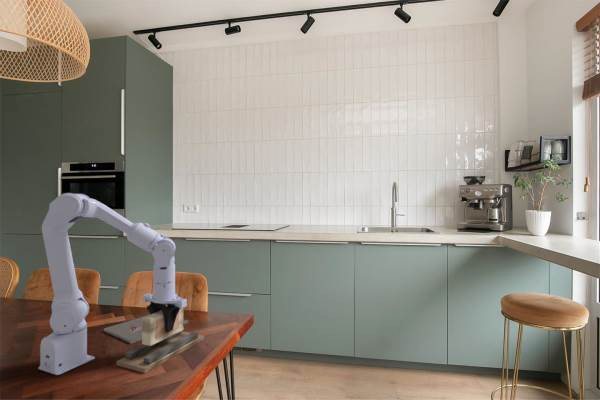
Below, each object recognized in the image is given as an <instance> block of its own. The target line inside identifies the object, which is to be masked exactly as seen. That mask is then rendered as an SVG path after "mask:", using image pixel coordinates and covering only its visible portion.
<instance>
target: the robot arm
mask: <svg viewBox="0 0 600 400" xmlns="http://www.w3.org/2000/svg"><path fill="white" fill-rule="evenodd" d="M48 205H49V207H48V208H49V209H48V211H47V213H46V216H45V218H44V220H43V223H42V224H41V232H42V233H41V234H42V239H43V242H44V249H45V254H46V258H47V259H46V260H47V264H48V268H49V274H50V280H51V285H52V290H53V295H54V296H53V300H52V303H51V315H50V318H49V325H50V328H51V330H53V332H51V333H50V334H49V335H47V336H45V337H43V338H42V339H41V340H40V341H41V342H40V346H39V349H40V351H39V353H40V354H39V355H40V356H39V361H40V362H39V364H40V365H39V366H38V368H37V369H38V370H40V371H44V372H46V373H50V374H52V375H55V376H58V375H59V376H60V375H61V374H65V373H67V372H68V371H70V370H72V369H73V370H74V369H75V368H78V367H80V366H82V365H84V364H86V363H89V362H91V361H93V360H95V359H96V357H95V356H93V355H89V354H88V353H87V352H88V324H87V323H88V322H86V319H85V318H86V317H87V316H88V314H89V313H90V306H89V303H88V302H87V301H86V299H85V298H84V295H83V292H82V291H81V290H80V289H79V286H78V285H79V284H78V280H77V275H76V269H75V264H74V259H73V254H72V248H71V244H70V238H69V234H68V233H69V232H68V231H69V230H70V228H72V226H73V225H74V224H75V223H76V222H77V221H79V220H80V219H82V218H93V219H98V220H101V221H103V222H105V224H106V223H107V224H108V225H110V226H112V227H113V228H115V229H117V230H119V231H121V232H123V233H125V235H126V239H127V241H128V242H130V243H132V244H134V245H135V246H137V247H139V248H141V249H142V250H144V251H146V252H147V253H151V255H152V257H153V267H152V268H153V270H152V274H153V276H152V278H153V279H152V284H153V285H152V293H145V294H143V295H142V302H143V303H150V304H149V305H146V310H147V311H148V313H149V315H150V314H153V313H156V312H158V311H162V313H163V316H164V322H165V331H166V332H170V331H172V330H173V327H174V323H175V319H176V317H177V314H178V312H179V310H180V309H181V308H183V309H184V308H186V307H188V306H187V305H188V303H187V302H188V301H187V300H188V299H187V298H183V297H180V296H178V294H177V293H176V264H175V261H176V258H175V254H176V243H175V242H174V241H173V240H172V239H171V238H170V237H169V236H168V237H167V236H165V234H164V233H158V232H157V231H155V230H154V229H153V228H151V227H150V226H151V225H150V224H149V223H147V222H145V223H142V222H136V223H133V222H131V221H130V220H128V218H125V217H124V216H123V215H121V214H119V213H118V212H117V211H115V210H114V209H112V208H110V207H108V205H106V204H104V203H102V202H101V201H98V200H97V199H94V198H90V196H88V195H86V194H84V193H74V192H73V193H72V192H66V193H65V192H63V193H62V194H59V195H58V196H56V198H55V199H53V200H52V201H51V202H50V203H49V204H48Z"/></svg>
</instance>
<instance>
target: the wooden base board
mask: <svg viewBox="0 0 600 400" xmlns="http://www.w3.org/2000/svg"><path fill="white" fill-rule="evenodd" d="M205 339H206V338H205V335H202V334H199V332H195V331H192V332H187V331H184V330H182V331H180V332H178V333H176V334H174V335H172V336H170V337H168V338H166V339H164V340H162V341H160V342H158V343H156V344H153V345H151V346H149V345H144V344H141V345H139V346H137V347H135V348H132V349H130V350H128V351H126V352H125V353H124V355H125V356H124V357H123V358H121V359H120V358H119V360H116V366H118V367H122V368H124V369H129V370H132V371H136V372H138V373H139V372H140V373H142V374H146V373H147V372H150V371H151V370H153V369H155V368H156V367H158V366H161V365H162V364H163V363H165V362H167V361H169V360H171V359H172V358H174V357H176V356H178V355H179V354H181V353H183V352H185V351H186V350H188V349H190V348H192V347H193V346H195V345H197V344H199V343H201V342H203V341H204V340H205Z"/></svg>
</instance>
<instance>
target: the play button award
mask: <svg viewBox="0 0 600 400" xmlns="http://www.w3.org/2000/svg"><path fill="white" fill-rule="evenodd" d="M148 315H149V314H148ZM148 315H144V316H141V317H138V318H134V319H132V320H129V321H124V322H121V323H118V324H114V325H110V326H108V327H105V328H104V327H103V332H104V333H106V334H109V335H110V334H111V336H113V337H114V338H116V339H117V338H118V339H119V338H120V339H119V340H121V339H122V340H121V341H123V342H124V341H125V342H126V343H128V344H134V343H136V342H139V341H142V318H143V317H145V316H148ZM186 323H187V324H188V323H189V320H187V319H184V318H183V324H185V325H187V324H186ZM131 327H137V328H136V330H135V329H134V331H132V330H131ZM131 331H132V332H131Z"/></svg>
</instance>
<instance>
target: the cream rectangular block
mask: <svg viewBox="0 0 600 400" xmlns="http://www.w3.org/2000/svg"><path fill="white" fill-rule="evenodd" d="M144 316H145V317H144ZM144 316H142V317H143V318H142V340H141V345H143V344H144V345H149V346H151V345H153V344H156V343H158V342H160V341H162V340H164V339H166V338H168V337H170V336H172V335H174V334H176V333H178V332H180V331H184V325H183V319H184V308H181V309H180V310H179V312H178V314H177V317H176V319H175V323H174V327H173V330H172V331H170V332H166V331H165V322H164V316H163V313H162V311H158V312H156V313H153V314H150V313H149V314H148V316H147V315H144Z"/></svg>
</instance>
